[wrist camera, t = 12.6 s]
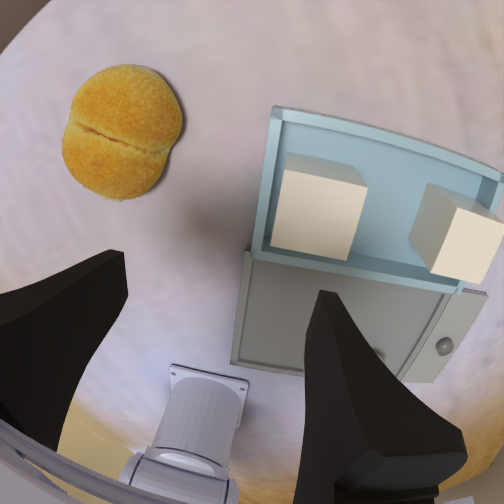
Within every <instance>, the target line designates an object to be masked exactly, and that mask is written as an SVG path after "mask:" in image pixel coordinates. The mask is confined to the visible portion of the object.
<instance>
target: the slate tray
mask: <svg viewBox="0 0 504 504" xmlns="http://www.w3.org/2000/svg"><path fill="white" fill-rule="evenodd" d="M251 247H252V246H251V245H247V246H246V249H245V254H244V262H243V269H242V276H241V284H240V291H239V299H238V306H237V314H236V321H235V329H234V337H233V344H232V352H231V360H230V364H231V365H236V366H241V367H246V368H252V369H257V370H263V371H269V372H275V373H281V374H287V375H294V376H301V377H305V375H304V372H303V362H304V350H305V339H306V331H307V328H308V325H309V322H310V319H311V316H312V312H313V309H314V306H315V303H316V300H317V297H318V293H319V290H326V291H332V292H337V294H338V296H339V297H340V299H341V300H342V302H343V304H344V306H345V307H346V309H347V311H348V312H349V314H350V316H351V317H352V319H353V321H354V322H355V324H356V325H357V327H358V329H359V330H360V332H361V333H362V335H363V336H364V338H365V339H366V341H367V342H368V343H369V345H370V346H371V347H372V349H373V350H374V352H375V353H376V354H377V355H379V356H380V357H381V358H382V359H383V360H384V361H385V363H386V366H387V368H388V369H389V370H390V371H391V372H392V373H393V374H394V375H395V377H396V378H397V379H398V380H399V381H400V382H414V383H433V382H434V381H435V379H436V378H437V377H438V375H439V374H440V373H441V371H442V370H443V369H444V367H445V366H446V364H447V363H448V361H449V360H450V359H451V357H452V356H453V354H454V353H455V351H456V350H457V348H458V347H459V345H460V344H461V342H462V341H463V339H464V338H465V336H466V334H467V333H468V331H469V330H470V328H471V326H472V325H473V323H474V321H475V320H476V318H477V316H478V314H479V313H480V311H481V309H482V307H483V306H484V304H485V302H486V300H487V298H488V297H489V296H488V295H487V293H486V292H481V291H476V290H470V289H465V288H463V290H462V292H461V293H460V295H456V294H450V293H445V292H439V291H433V290H427V289H421V288H416V287H410V286H404V285H399V284H393V283H387V282H381V281H376V280H370V279H364V278H359V277H353V276H347V275H342V274H336V273H331V272H325V271H319V270H314V269H308V268H303V267H297V266H292V265H286V264H281V263H275V262H270V261H264V260H259V259H253V258H250V254H251Z"/></svg>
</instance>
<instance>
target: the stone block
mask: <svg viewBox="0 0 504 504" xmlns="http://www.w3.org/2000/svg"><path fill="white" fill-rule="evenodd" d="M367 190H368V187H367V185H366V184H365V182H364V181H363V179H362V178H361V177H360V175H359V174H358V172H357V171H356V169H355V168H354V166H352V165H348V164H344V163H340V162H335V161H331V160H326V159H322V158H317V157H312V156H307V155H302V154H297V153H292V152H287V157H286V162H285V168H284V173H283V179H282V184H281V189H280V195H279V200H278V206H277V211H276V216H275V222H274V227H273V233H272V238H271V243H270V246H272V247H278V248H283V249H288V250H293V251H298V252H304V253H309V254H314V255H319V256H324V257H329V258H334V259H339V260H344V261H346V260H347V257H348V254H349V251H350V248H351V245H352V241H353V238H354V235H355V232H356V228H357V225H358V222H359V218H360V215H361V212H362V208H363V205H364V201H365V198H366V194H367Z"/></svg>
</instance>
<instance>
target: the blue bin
mask: <svg viewBox="0 0 504 504" xmlns="http://www.w3.org/2000/svg"><path fill="white" fill-rule="evenodd" d="M287 152H292V153H297V154H302V155H307V156H312V157H317V158H322V159H326V160H331V161H335V162H340V163H344V164H348V165H352V166H354V168H355V169H356V171H357V172H358V174H359V175H360V177H361V178H362V179H363V181H364V182H365V184H366V185H367V187H368V190H367V194H366V198H365V201H364V205H363V208H362V212H361V215H360V218H359V222H358V225H357V228H356V232H355V235H354V238H353V241H352V245H351V248H350V251H349V254H348V257H347V260H346V261H344V260H339V259H334V258H329V257H324V256H319V255H314V254H309V253H304V252H298V251H293V250H288V249H283V248H278V247H272V246H270V243H271V238H272V233H273V227H274V222H275V216H276V211H277V206H278V200H279V195H280V189H281V184H282V179H283V173H284V168H285V162H286V157H287ZM427 182H430V183H433V184H436V185H439V186H442V187H445V188H448V189H450V190H453V191H456V192H459V193H461V194H464V195H467V196H469V197H472V198H474V199H475V200H477V201H478V202H479V203H481V204H482V205H483V206H484V207H486V208H487V209H488V210H489V211H490V212H492V213H493V214H494V215H495V213H496V210H497V207H498V204H499V201H500V198H501V195H502V192H503V189H504V173H502V172H500V171H498V170H497V169H495V168H493V167H491V166H489V165H487V164H485V163H482V162H480V161H477V160H475V159H472V158H470V157H467V156H465V155H462V154H460V153H457V152H454V151H452V150H449V149H446V148H443V147H441V146H438V145H435V144H432V143H429V142H426V141H423V140H420V139H417V138H414V137H411V136H407V135H404V134H401V133H397V132H394V131H390V130H387V129H383V128H380V127H376V126H372V125H368V124H365V123H361V122H357V121H352V120H348V119H344V118H340V117H335V116H330V115H326V114H321V113H316V112H311V111H305V110H300V109H294V108H289V107H282V106H276V105H275V106H273V107H272V111H271V118H270V125H269V131H268V138H267V145H266V152H265V158H264V165H263V172H262V179H261V186H260V192H259V199H258V206H257V213H256V220H255V226H254V233H253V240H252V247H251V254H250V258H253V259H259V260H264V261H270V262H275V263H281V264H286V265H292V266H297V267H303V268H308V269H314V270H319V271H325V272H331V273H336V274H342V275H347V276H353V277H359V278H364V279H370V280H376V281H381V282H387V283H393V284H399V285H404V286H410V287H416V288H421V289H427V290H433V291H439V292H445V293H450V294H456V295H460V293H461V292H462V290H463V288H464V286H465V284H466V281H463V280H459V279H455V278H450V277H446V276H442V275H437V274H433V273H430V272H429V270H428V268H427V267H426V265H425V263H424V262H423V260H422V258H421V257H420V255H419V253H418V252H417V250H416V248H415V247H414V245H413V244H412V242H411V241H410V239H409V237H408V236H409V233H410V231H411V228H412V225H413V223H414V220H415V217H416V214H417V212H418V209H419V206H420V203H421V200H422V197H423V194H424V191H425V188H426V185H427Z"/></svg>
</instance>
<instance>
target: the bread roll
mask: <svg viewBox="0 0 504 504" xmlns="http://www.w3.org/2000/svg"><path fill="white" fill-rule="evenodd" d="M181 127H182V113H181V110H180V107H179V104H178V102H177V100H176V98H175V96H174V94H173V92H172V90H171V89H170V87H169V86H168V85H167V83H166V82H165V81H164V80H163V78H162V77H161V76H159V75H158V74H157V73H156V72H155V71H153V70H151V69H148V68H146V67H142V66H137V65H116V66H112V67H109V68H106V69H104V70H102V71H100V72H98V73H97V74H95V75H93V76H92V77H91V78H90V79H89V80H88V81H87V82H85V83H84V84H83V86H82V87H81V88H80V89H79V90H78V91H77V93H76V94H75V96H74V98H73V101H72V105H71V111H70V117H69V121H68V124H67V126H66V129H65V132H64V136H63V139H62V155H63V158H64V162H65V164H66V167H67V169H68V170H69V172H70V174H71V175H72V176H73V177H74V178H75V179H76V180H77V181H78V182H79V183H81V184H82V185H83V186H84V188H88V189H89V190H90V191H92V192H94V193H95V194H98V195H100V196H102V197H103V198H105V199H107V200H111V201H115V202H121V201H123V200H125V199H132V198H136V197H139V196H141V195H143V194H145V193H146V192H147V191H148V190H149V189H150V188H151V187H152V186H153V185H154V184H155V183H156V181H157V180H158V179H159V177H160V175H161V174H162V172H163V169H164V166H165V163H166V159H167V156H168V153H169V151H170V149H171V147H172V145H173V144H174V143H175V141H176V140H177V138H178V136H179V134H180V131H181Z"/></svg>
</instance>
